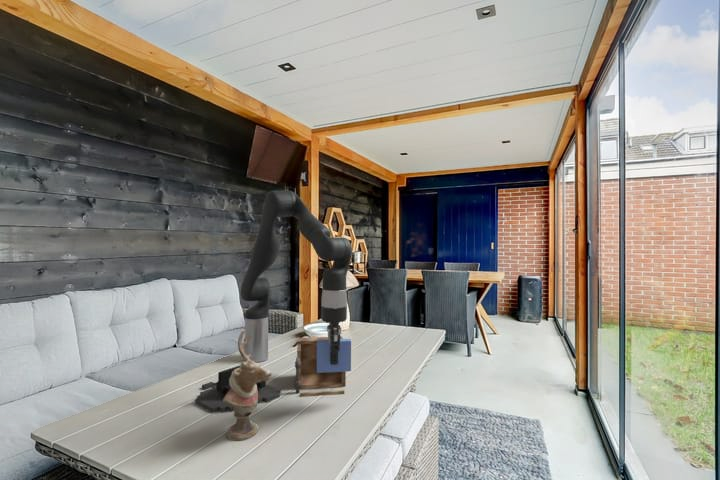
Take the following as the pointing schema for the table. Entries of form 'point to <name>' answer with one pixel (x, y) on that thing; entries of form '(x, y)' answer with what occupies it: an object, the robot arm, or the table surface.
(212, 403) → the abstract sculpture
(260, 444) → the table surface
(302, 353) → the cabinet
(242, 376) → the decorative bust
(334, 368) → the blue rectangular block
